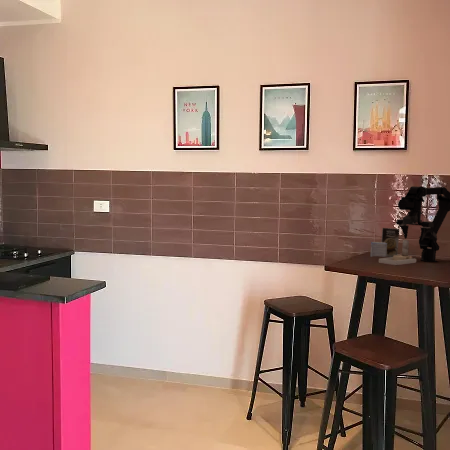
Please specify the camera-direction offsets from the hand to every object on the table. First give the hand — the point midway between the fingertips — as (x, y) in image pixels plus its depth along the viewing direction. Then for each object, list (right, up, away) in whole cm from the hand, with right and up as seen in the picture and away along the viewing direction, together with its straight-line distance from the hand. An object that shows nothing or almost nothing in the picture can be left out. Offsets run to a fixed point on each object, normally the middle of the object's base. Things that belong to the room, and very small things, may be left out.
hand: (413, 239), depth 280 cm
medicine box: (-16, -11, +11) cm, 22 cm away
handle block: (-9, -11, -10) cm, 17 cm away
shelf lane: (-13, -13, -13) cm, 22 cm away
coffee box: (-7, -10, +20) cm, 24 cm away
